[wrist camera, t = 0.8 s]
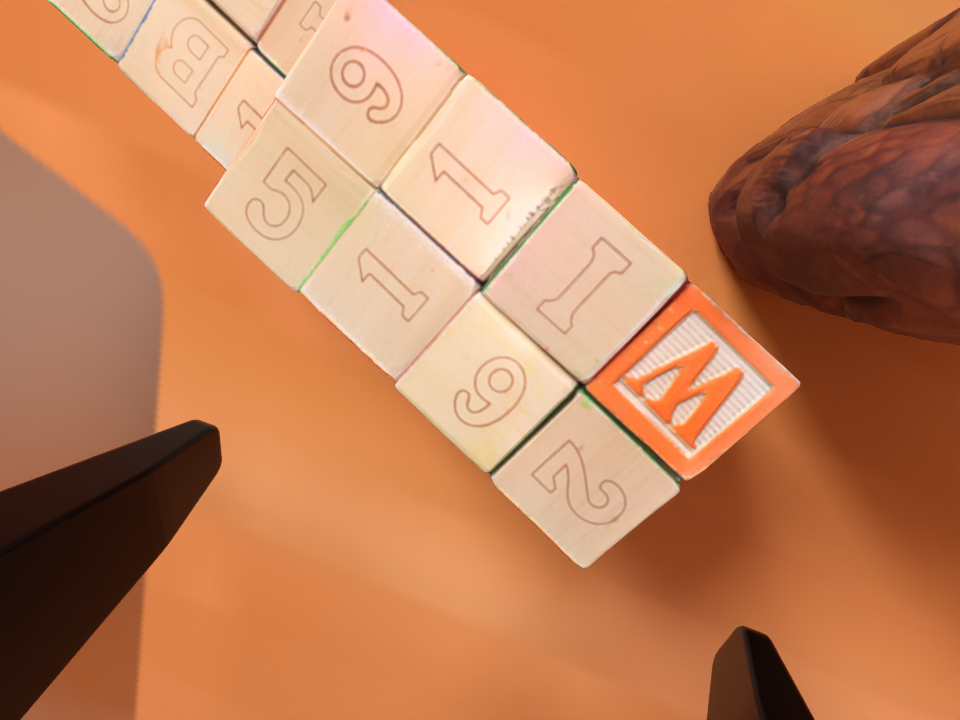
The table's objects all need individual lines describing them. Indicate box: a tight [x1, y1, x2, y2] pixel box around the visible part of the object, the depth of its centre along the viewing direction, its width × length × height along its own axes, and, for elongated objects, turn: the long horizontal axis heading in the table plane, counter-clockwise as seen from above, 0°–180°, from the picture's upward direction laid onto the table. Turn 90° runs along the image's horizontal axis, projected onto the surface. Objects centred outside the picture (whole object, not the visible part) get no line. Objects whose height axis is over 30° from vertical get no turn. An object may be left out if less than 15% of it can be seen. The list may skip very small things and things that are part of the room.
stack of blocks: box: [48, 0, 800, 568], centre depth 18 cm, size 21×6×12 cm, turn 47°
